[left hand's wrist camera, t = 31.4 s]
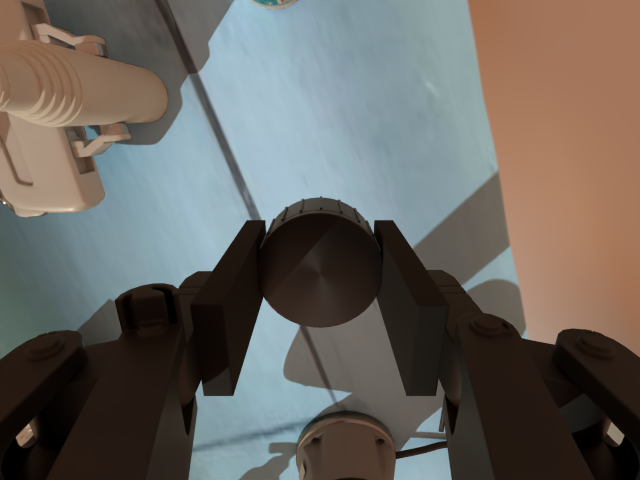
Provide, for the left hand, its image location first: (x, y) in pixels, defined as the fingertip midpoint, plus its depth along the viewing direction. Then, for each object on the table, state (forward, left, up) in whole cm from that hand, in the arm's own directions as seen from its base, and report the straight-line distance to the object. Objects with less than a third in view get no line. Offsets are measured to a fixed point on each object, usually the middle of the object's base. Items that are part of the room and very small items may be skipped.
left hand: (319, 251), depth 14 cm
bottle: (+19, -7, -25) cm, 32 cm away
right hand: (+18, -7, -19) cm, 27 cm away
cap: (0, 0, +2) cm, 2 cm away
